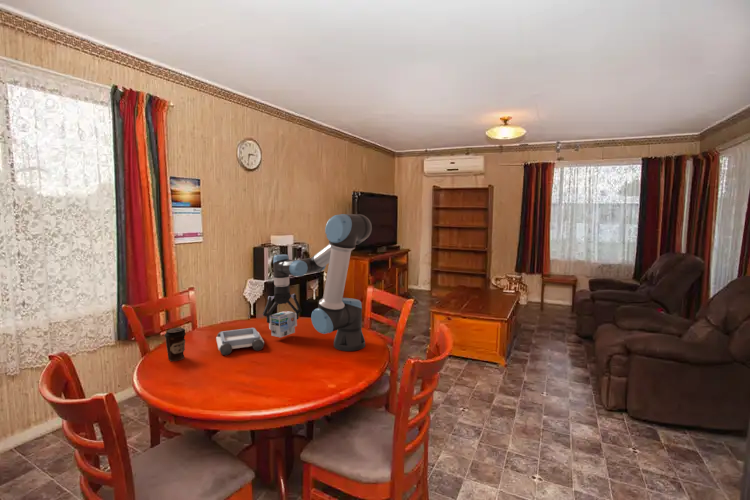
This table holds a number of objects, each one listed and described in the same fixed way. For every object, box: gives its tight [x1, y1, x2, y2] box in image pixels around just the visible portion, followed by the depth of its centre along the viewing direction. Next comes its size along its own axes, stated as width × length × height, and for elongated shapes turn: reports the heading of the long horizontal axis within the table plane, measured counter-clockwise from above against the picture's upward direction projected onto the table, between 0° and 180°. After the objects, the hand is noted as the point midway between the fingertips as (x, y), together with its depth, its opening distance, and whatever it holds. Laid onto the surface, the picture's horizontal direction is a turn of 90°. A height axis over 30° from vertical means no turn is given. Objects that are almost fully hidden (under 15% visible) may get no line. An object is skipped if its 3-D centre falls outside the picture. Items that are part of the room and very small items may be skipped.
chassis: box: [215, 327, 265, 356], centre depth 187 cm, size 21×20×6 cm
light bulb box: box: [270, 310, 296, 338], centre depth 197 cm, size 11×7×11 cm, turn 148°
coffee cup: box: [164, 327, 186, 362], centre depth 170 cm, size 9×8×13 cm
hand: (283, 327), depth 198 cm, fingers closed on light bulb box, 12 cm apart
